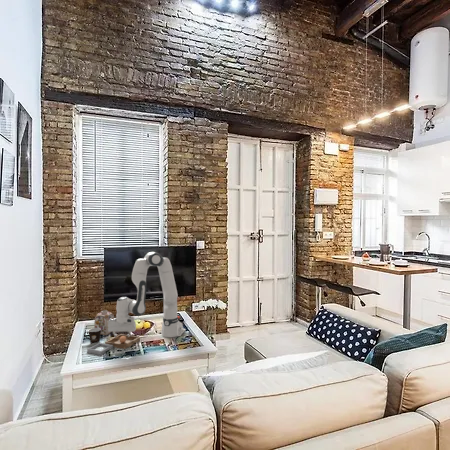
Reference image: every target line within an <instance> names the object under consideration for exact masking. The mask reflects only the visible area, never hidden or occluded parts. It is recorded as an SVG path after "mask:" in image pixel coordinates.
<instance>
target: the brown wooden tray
mask: <svg viewBox="0 0 450 450" xmlns="http://www.w3.org/2000/svg"><path fill="white" fill-rule="evenodd" d="M121 336H125V337H126V342H124V343H121V342H120V340H119V339H120V337H121ZM139 341H141V337H140V336H136V335H135V336H134V335H130V336H129V337H127V334H123V333H120V334H117V337H112V338H110V339H108V340H106V341H105V342H104V344H110V345H113V348H118V349H123V350H126V349H127V348H129V347H131V346H133V345H134V344H136V343H137V342H139Z"/></svg>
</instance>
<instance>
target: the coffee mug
mask: <svg viewBox="0 0 450 450" xmlns="http://www.w3.org/2000/svg"><path fill="white" fill-rule="evenodd" d="M86 333H87V334H88V336H89V337H88V336H86V335H85V334H86ZM100 333H101V329H100V328H90V329H89V330H88V331H84V333H83V336H84V338H86V339H88V340H89V342H90V345H93V344H98V343H100V339H101V335H100Z"/></svg>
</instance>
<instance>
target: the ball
mask: <svg viewBox="0 0 450 450" xmlns="http://www.w3.org/2000/svg"><path fill="white" fill-rule="evenodd" d="M119 340H120V342H121V343H124V342H126V337H125V336H121V337H120V339H119Z"/></svg>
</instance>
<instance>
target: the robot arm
mask: <svg viewBox="0 0 450 450" xmlns="http://www.w3.org/2000/svg"><path fill="white" fill-rule="evenodd" d="M150 267H157V270H158V274H159V279H160V284H161V290H162V295H163V317H162V323H161V331H160V334H161V336H162V337H164V338H177V337H181V336H182V335H183V334H184V332H185V331H186V328H184V326H183V323H182V322H181V321H179V319H180V318H181V316H179V315H178V297H179V296H178V295H179V294H178V290H177V284H176V281H175V276H174V272H173V271H174V270H173V267H172V264H171V261H170V259H169V258H168V257H163V256H162V255H161V254H160V253H159V252H155V251H150V252H149V251H148V252H147V253H146V254H145V255H143V257H142V258H138V259H136V260H135V263H134V265H133V268H132V272H131V281H132V283H133V284H134V285H135V287H136V290H137V295H136V300H135V299H131V298H129V297H127V296H121V297H119V298H118V299H117V301H116V307H115V309H116V314H115V318H114V319H110V320H109V321H108V324H109V326H108V331H109V332H111V333H112V335H114V337H117V336H118V334H117V333H116V332H118V333H119V332H121V333H122V332H123V333H124V332H125V333H126V332H127V333H128V334H126V335H127V337H129V336H131V333H132V332H135V331H136V330H137V324H136V321H135V320H136V319H135V317H134V316H131V315H129V314H130V313H131V314H133V315H135V316H137V317H141V316H143V315H144V314H145V312H146V309H147V307H146V297H147V296H146V295H147V276H148V275H147V274H148V271H149V268H150ZM114 337H113V338H114Z"/></svg>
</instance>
